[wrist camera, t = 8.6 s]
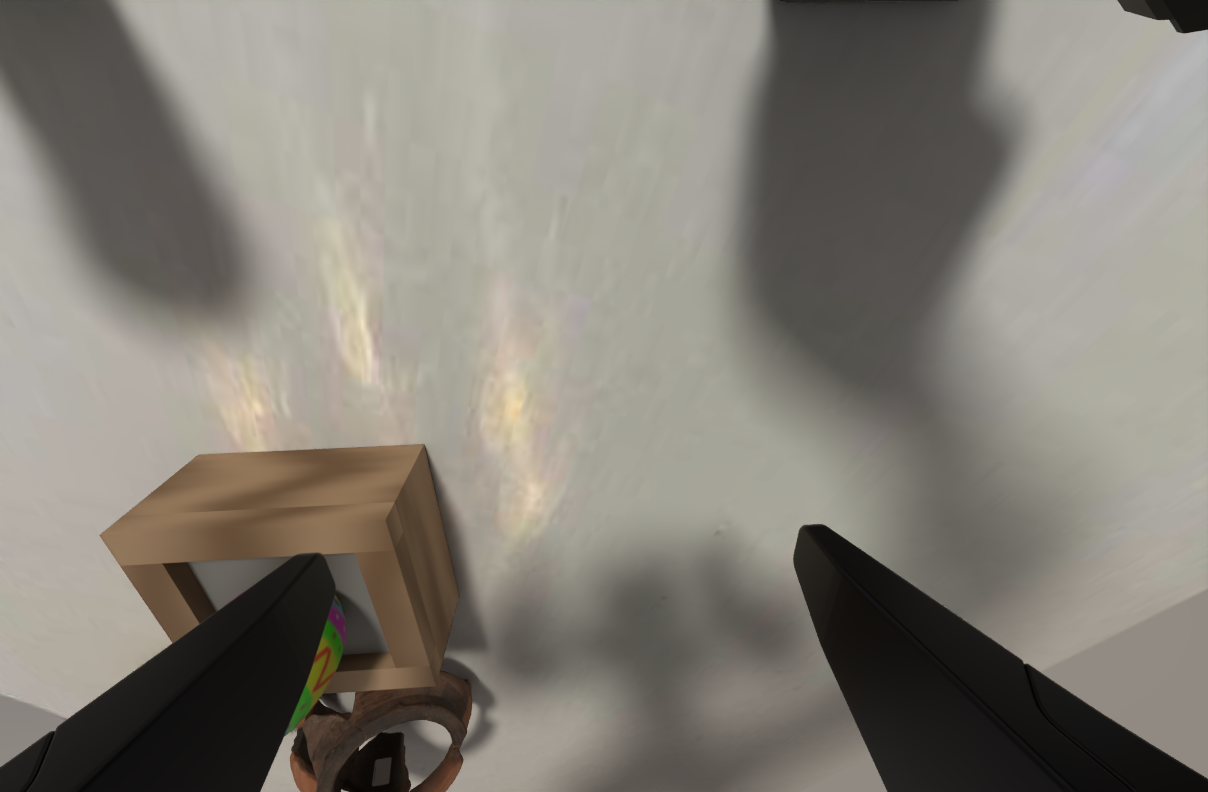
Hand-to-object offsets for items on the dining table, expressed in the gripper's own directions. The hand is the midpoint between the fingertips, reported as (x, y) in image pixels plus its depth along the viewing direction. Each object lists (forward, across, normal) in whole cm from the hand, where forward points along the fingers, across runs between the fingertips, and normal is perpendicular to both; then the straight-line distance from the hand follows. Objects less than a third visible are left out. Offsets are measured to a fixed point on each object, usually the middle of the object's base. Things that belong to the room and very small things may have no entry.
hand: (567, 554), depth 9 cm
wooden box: (+12, +12, +10) cm, 20 cm away
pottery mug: (+12, +12, +23) cm, 29 cm away
